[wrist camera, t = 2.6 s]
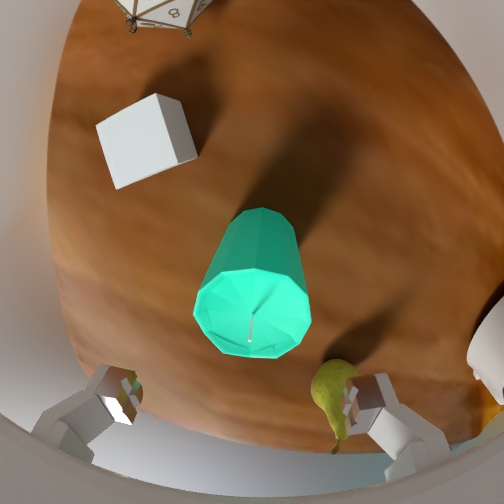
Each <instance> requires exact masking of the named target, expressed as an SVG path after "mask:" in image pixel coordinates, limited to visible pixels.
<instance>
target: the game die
mask: <svg viewBox="0 0 504 504" xmlns="http://www.w3.org/2000/svg"><path fill="white" fill-rule="evenodd" d="M113 1H114V2H115V4H116V5H117V6H118V7H119V8H120V10H121V11H122V12H123V13H124V15H125V16H126V17H127V18H128V21H126V27H129V26H132V25H133V27H131V29H130V31H129V32H130V35H131V34H132V33H135V32H136V30H137V27H149V28H169V29H181V30H184V34H185V36H186V37H188V38H190V39H191V35H192V33H191V30H189V26H190V25H191V24H192V23H193V22H194V21H195V20H196V18H197V17H198V16H199V15H200V14H201V13H202V12H203V11H204V10H205V9H206V8H207V7H208V6H209V4H210V3H211V2H212V1H213V0H113Z"/></svg>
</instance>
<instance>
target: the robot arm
mask: <svg viewBox="0 0 504 504" xmlns="http://www.w3.org/2000/svg"><path fill="white" fill-rule="evenodd" d="M467 363H468V365H469V366H470V367H472V368H473V369H474V370H473V375H474V377H475V378H476V379H477V380H478V379H481V380H482V381H483V383H484V384H485V386H486V387H487V388H488V390H489V391H490V392H491V394H492V395H493V396H494V398H495V399H496V401H497V402H498V403H499V404H501V405H504V296H503V297H502V298H501V299H500V300H499V302H498V303H497V304H496V305H495V306H494V307H493V308H492V310H491V311H490V312H489V313H488V315H487V316H486V317H485V319H484V320H483V322H482V323H481V325H480V326H479V328H478V330H477V331H476V333H475V335H474V337H473V339H472V341H471V343H470V346H469V349H468V352H467ZM136 378H137V375H136V373H135V371H131V370H127V369H122V368H118V367H113V366H109V365H104V364H101V365H100V366H99V367H98V368H97V370H96V372H95V373H94V375H93V377H92V378H91V380H90V382H89V383H88V385H87V387H86V388H85V390H84V391H83V390H81V391H79V392H77V393H76V394H74V395H72V396H70V397H69V398H67V399H65V400H63V401H62V402H60V403H58V404H57V405H55V406H53V407H51V408H49V409H47V410H46V411H44V412H43V413H42V415H41V416H40V418H39V420H38V421H37V423H36V425H35V427H34V428H33V430H32V432H31V433H29V432H28V431H26V430H25V429H23V428H21V427H20V426H18V425H17V424H15V423H14V422H12V421H11V420H9V419H8V418H7V417H5V416H4V415H2V414H1V413H0V504H504V430H503V431H501V432H500V433H498V434H496V435H495V436H493V437H491V438H490V439H488V440H486V441H485V442H483V443H481V444H479V445H477V446H476V447H474V448H472V449H470V450H468V451H466V452H464V453H462V454H460V455H458V456H455V457H452V454H451V451H450V448H449V446H448V443H447V441H446V438H445V436H444V433H443V432H442V431H441V430H439V429H438V428H437V427H435V426H434V425H432V424H431V423H429V422H428V421H427V420H425V419H424V418H422V417H421V416H419V415H418V414H417V413H415V412H414V411H412V410H411V409H410V408H408V407H407V406H405V405H404V404H403V403H402V404H399V402H398V400H397V397H396V395H395V392H394V390H393V387H392V385H391V382H390V380H389V378H388V375H387V374H386V373H379V374H373V375H372V374H370V375H364V376H356V377H349V378H348V379H347V381H346V389H345V390H343V393H342V396H341V408H342V413H344V414H345V415H346V416H347V417H346V419H345V421H344V422H345V427H346V432H347V435H353V434H360V433H367V432H368V434H369V435H370V436H371V437H372V438H373V439H374V440H375V441H376V442H377V443H378V444H379V445H380V446H381V448H382V449H383V450H384V451H385V452H386V453H388V454H389V456H391V457H392V458H393V459H394V460H395V461H394V462H393V463H392V464H391V465H390V466H389V467H388V468H387V469H386V470H385V471H384V472H385V476H386V481H387V482H383V483H379V484H375V485H371V486H367V487H363V488H357V489H353V490H347V491H341V492H335V493H328V494H319V495H311V496H300V497H273V498H256V497H255V498H254V497H234V496H222V495H212V494H204V493H197V492H191V491H185V490H179V489H174V488H169V487H164V486H160V485H156V484H152V483H148V482H144V481H141V480H137V479H133V478H130V477H127V476H124V475H121V474H118V473H115V472H112V471H109V470H106V469H104V468H101V467H98V466H96V465H94V464H91V462H92V460H93V457H94V453H93V451H92V450H91V449H90V448H89V447H88V446H87V444H88V443H89V442H91V441H92V440H93V439H94V438H96V437H97V436H98V435H99V434H100V433H102V432H103V431H104V430H105V429H107V428H108V427H109V426H110V425H111V424H112V423H114V421H118V422H123V423H127V424H131V425H132V424H133V421H134V419H135V416H136V414H137V411H136V407H137V406H139V405H140V404H141V401H142V397H143V390H142V386H141V384H140V383H139V382H138V381H137V380H136Z"/></svg>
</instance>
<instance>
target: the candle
mask: <svg viewBox="0 0 504 504" xmlns="http://www.w3.org/2000/svg"><path fill="white" fill-rule="evenodd" d="M193 315H194V317H195V319H196V320H197V322H198V324H199V326H200V327H201V329H202V331H203V332H204V334H205V335H206V336H207V337H208V338H209V339H210V340H211V341H212V342H213V343H214V344H215V345H216V346H217V348H218V349H219V350H220V351H221V352H222V353H225V354H231V355H237V356H244V357H254V358H278V357H280V356H281V355H283V354H284V353H286V352H288V351H289V350H291V349H292V348H294V347H295V346H297V345H298V344H300V342H301V340H302V338H303V337H304V335H305V333H306V331H307V329H308V328H309V326H310V324H311V315H310V307H309V300H308V293H307V288H306V283H305V278H304V274H303V269H302V264H301V259H300V255H299V250H298V246H297V241H296V237H295V232H294V228H293V226H292V225H291V224H290V223H289V222H288V221H287V219H286V218H285V217H284V216H283V215H282V214H281V213H278V212H275V211H272V210H269V209H266V208H263V207H262V208H256V209H251V210H246V211H243V212H242V213H241V214H240V215H239V216H237V217H236V218H235V219H234V220H233V221H232V222H231V223H230V224H229V226H228V228H227V230H226V233H225V235H224V237H223V239H222V241H221V243H220V245H219V248H218V250H217V252H216V254H215V256H214V258H213V260H212V263H211V265H210V267H209V269H208V271H207V274H206V276H205V278H204V280H203V282H202V285H201V287H200V289H199V292H198V296H197V300H196V304H195V308H194V312H193Z"/></svg>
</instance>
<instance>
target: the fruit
mask: <svg viewBox="0 0 504 504" xmlns="http://www.w3.org/2000/svg"><path fill="white" fill-rule="evenodd" d="M356 376H362V375H361V374H360V372H359V371H358V370H357V369H356V368H355V367H354V366H353V365H352V364H350V363H348V362H346V361H345V360H342V359H331V360H329V361H327V362H325V363H323V364H322V365H321V366H320V367H319V368H318V370H317V371H316V373H315V374H314V377H313V379H312V383H311V394H312V397H313V399H314V401H315V403H316V404H317V405H318V406H319V407H320V408H322V409H323V410H324V411H325V413H326V415H327V417H328V420H329V423H330V425H331V427H332V428H333V430H334V432H335V436H336V438H337V439H339V441H338V444H337V446H336V447H335V448H334V449H333V450H332V452H331V454H336V453H337V451H338V450H339V447H340V445H341V442H342V440H344V439H347V438H348V437H349V436H350V435H347V432H346V427H345V422H344V421H345V419H346V417H347V416H346V415H345V414H344V413H342V408H341V396H342V393H343V390H345V389H346V381H347V379H348V378H349V377H356Z"/></svg>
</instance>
